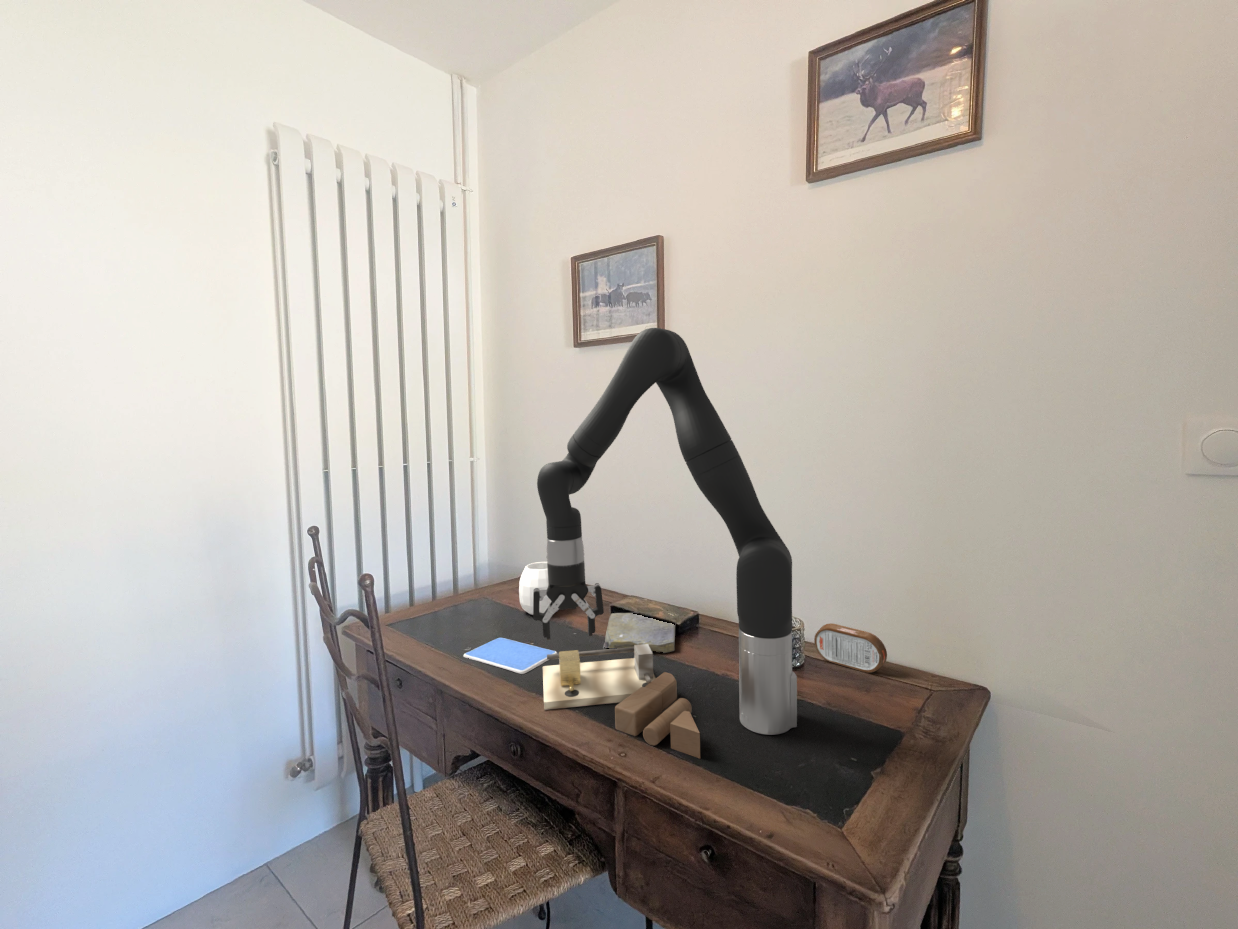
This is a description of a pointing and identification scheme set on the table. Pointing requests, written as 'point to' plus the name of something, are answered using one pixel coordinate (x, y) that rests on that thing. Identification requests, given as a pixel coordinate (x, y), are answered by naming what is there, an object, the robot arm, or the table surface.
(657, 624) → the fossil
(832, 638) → the tin
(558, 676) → the cream panel
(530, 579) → the white faceted vase
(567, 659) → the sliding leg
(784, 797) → the table surface
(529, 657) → the tablet computer
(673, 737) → the wooden block set
